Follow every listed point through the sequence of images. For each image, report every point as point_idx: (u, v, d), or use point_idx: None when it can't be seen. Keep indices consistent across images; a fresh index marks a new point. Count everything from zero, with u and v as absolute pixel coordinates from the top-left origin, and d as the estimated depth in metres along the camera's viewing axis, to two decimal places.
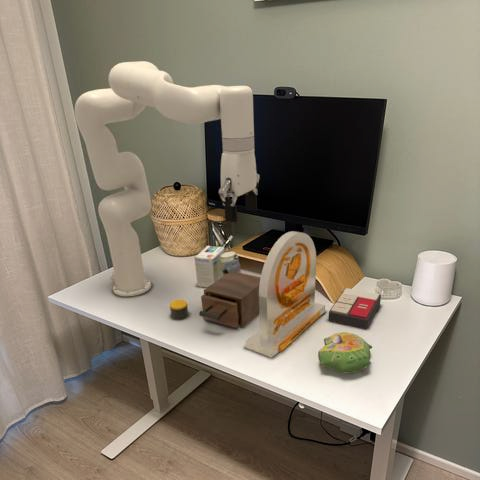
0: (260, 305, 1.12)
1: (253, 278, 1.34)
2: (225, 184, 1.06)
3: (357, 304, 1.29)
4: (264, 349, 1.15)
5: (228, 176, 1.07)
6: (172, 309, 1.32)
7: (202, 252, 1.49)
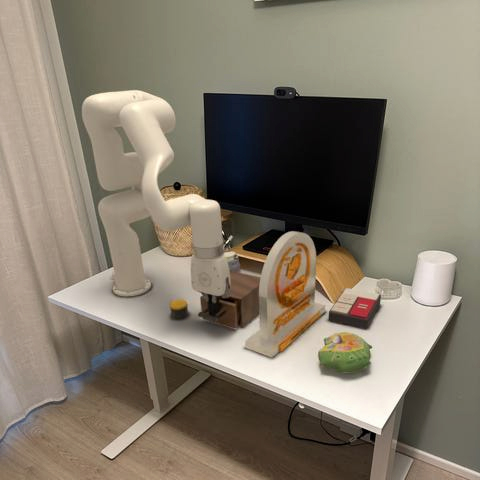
0: (260, 305, 1.12)
1: (253, 278, 1.34)
2: (227, 288, 1.18)
3: (357, 304, 1.29)
4: (264, 349, 1.15)
5: (226, 276, 1.16)
6: (172, 309, 1.32)
7: None
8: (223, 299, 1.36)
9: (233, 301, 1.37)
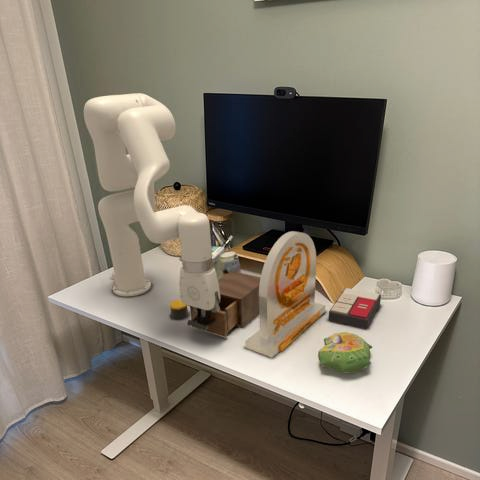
0: (260, 305, 1.12)
1: (253, 278, 1.34)
2: (216, 302, 1.15)
3: (357, 304, 1.29)
4: (264, 349, 1.15)
5: (216, 290, 1.13)
6: (172, 309, 1.32)
7: None
8: None
9: (224, 308, 1.34)
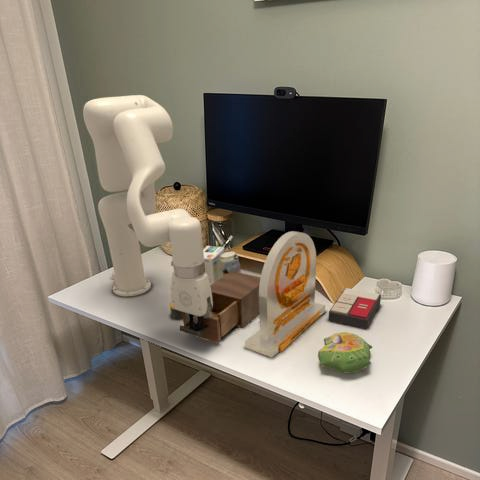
0: (260, 305, 1.12)
1: (253, 278, 1.34)
2: (209, 308, 1.13)
3: (357, 304, 1.29)
4: (264, 349, 1.15)
5: (208, 295, 1.11)
6: (172, 309, 1.32)
7: None
8: None
9: (218, 313, 1.31)
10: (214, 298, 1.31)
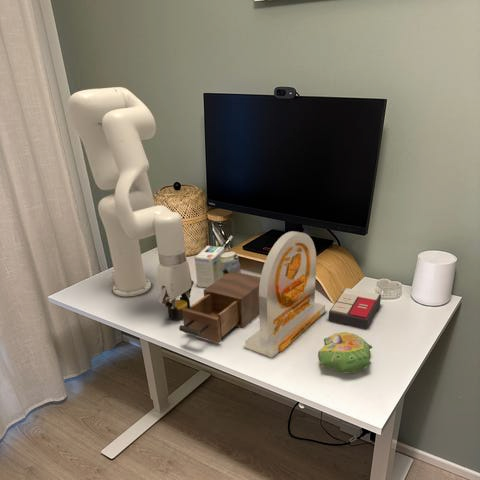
0: (260, 305, 1.12)
1: (253, 278, 1.34)
2: (162, 294, 1.26)
3: (357, 304, 1.29)
4: (264, 349, 1.15)
5: (163, 284, 1.25)
6: None
7: (202, 252, 1.49)
8: (207, 311, 1.30)
9: (218, 313, 1.31)
10: (214, 298, 1.31)
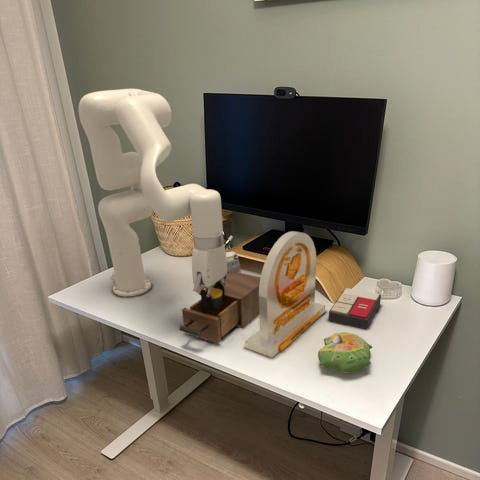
0: (260, 305, 1.12)
1: (253, 278, 1.34)
2: (197, 281, 1.15)
3: (357, 304, 1.29)
4: (264, 349, 1.15)
5: (199, 270, 1.14)
6: None
7: None
8: (207, 311, 1.30)
9: (218, 313, 1.31)
10: None
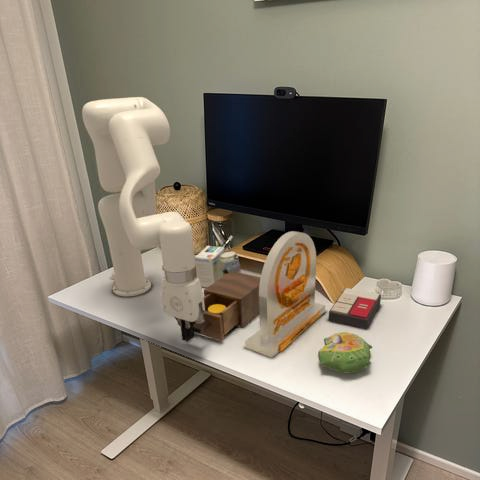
0: (260, 305, 1.12)
1: (253, 278, 1.34)
2: (200, 313, 1.10)
3: (357, 304, 1.29)
4: (264, 349, 1.15)
5: (199, 301, 1.09)
6: None
7: (202, 252, 1.49)
8: None
9: None
10: (217, 296, 1.32)
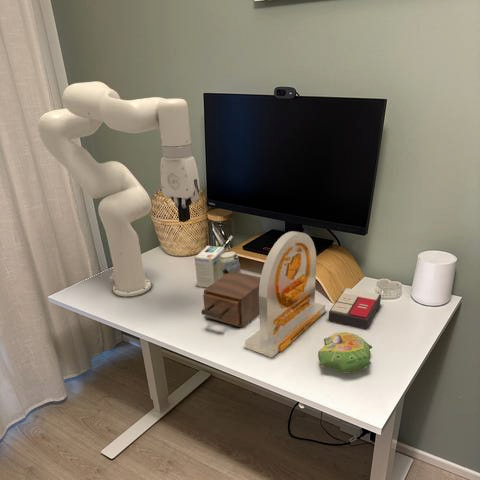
0: (260, 305, 1.12)
1: (253, 278, 1.34)
2: (196, 191, 1.20)
3: (357, 304, 1.29)
4: (264, 349, 1.15)
5: (195, 178, 1.18)
6: None
7: (202, 252, 1.49)
8: None
9: None
10: None
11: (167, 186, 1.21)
